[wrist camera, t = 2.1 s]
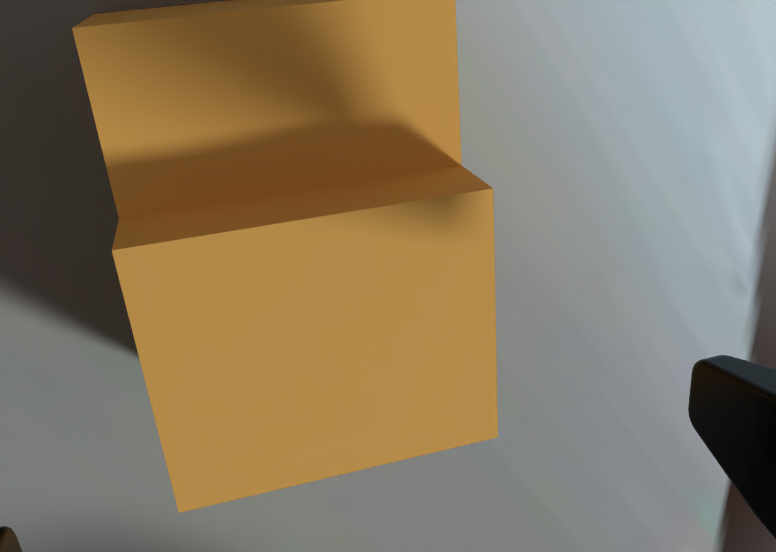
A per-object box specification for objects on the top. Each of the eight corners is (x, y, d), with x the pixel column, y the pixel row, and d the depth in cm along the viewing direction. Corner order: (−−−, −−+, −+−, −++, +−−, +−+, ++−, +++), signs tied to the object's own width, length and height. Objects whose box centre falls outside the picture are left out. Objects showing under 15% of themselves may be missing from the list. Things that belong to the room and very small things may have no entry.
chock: (96, 13, 14) (57, 37, 9) (397, -17, 15) (489, -8, 11) (178, 370, 17) (178, 513, 13) (420, 322, 18) (497, 436, 14)
